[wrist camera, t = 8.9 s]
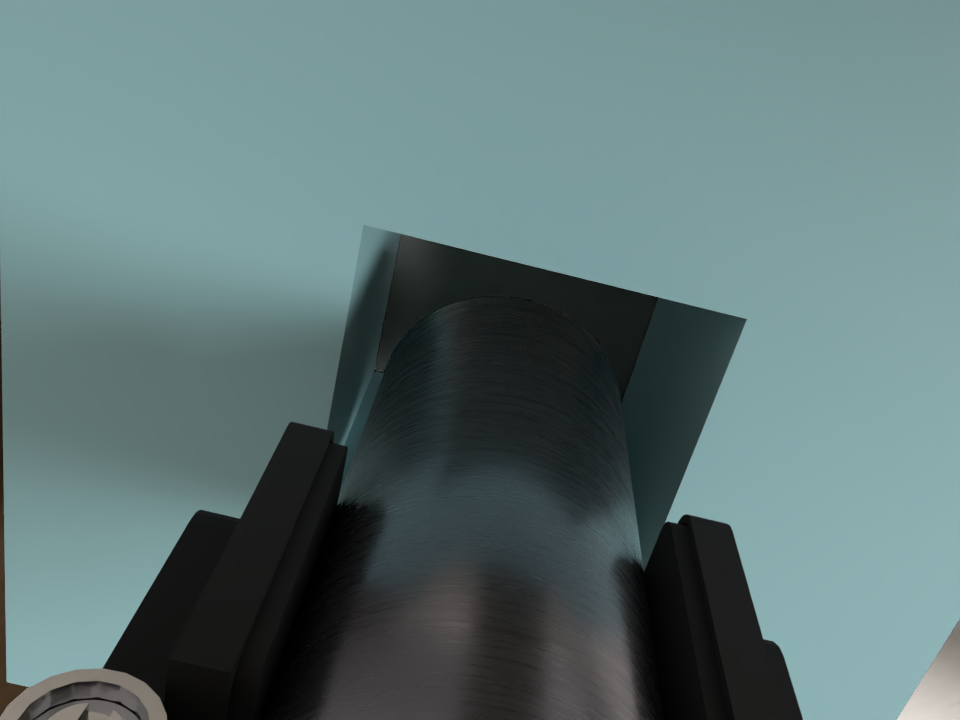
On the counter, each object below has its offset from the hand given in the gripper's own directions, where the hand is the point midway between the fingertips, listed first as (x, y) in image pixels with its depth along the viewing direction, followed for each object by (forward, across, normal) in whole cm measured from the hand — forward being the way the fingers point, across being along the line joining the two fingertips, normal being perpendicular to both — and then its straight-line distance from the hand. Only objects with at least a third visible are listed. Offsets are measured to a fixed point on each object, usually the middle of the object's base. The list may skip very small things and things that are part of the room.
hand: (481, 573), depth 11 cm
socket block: (+9, 0, 0) cm, 9 cm away
